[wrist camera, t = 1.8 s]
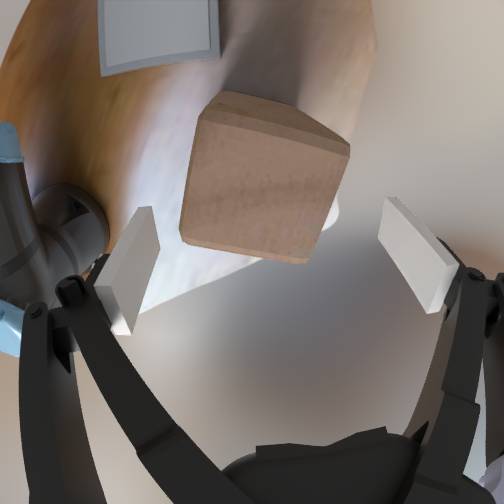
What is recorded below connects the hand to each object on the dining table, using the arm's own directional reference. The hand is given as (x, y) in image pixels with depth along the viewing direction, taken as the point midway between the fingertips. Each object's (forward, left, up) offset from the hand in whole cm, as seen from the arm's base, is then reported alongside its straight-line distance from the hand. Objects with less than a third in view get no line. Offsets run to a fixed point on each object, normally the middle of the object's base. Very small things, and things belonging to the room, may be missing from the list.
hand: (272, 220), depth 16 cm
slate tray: (-10, +17, -23) cm, 30 cm away
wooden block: (0, 0, -23) cm, 23 cm away
